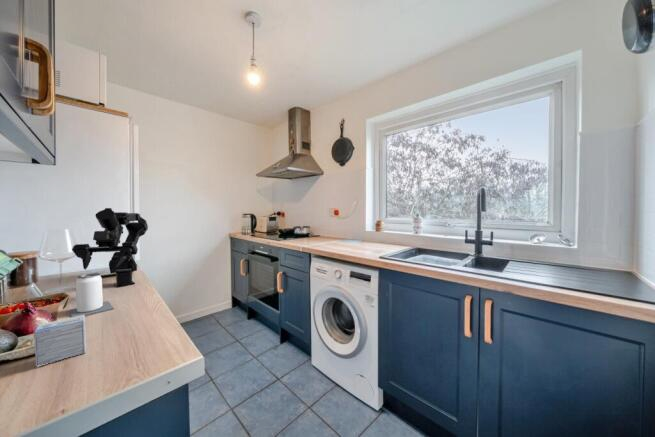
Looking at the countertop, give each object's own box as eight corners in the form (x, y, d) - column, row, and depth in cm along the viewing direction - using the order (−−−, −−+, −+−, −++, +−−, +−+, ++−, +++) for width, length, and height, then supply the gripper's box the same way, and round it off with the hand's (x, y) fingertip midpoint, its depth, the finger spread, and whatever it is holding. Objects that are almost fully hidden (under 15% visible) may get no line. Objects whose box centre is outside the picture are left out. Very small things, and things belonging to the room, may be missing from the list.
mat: (69, 310, 82) (69, 309, 82) (108, 302, 90) (108, 301, 90) (72, 319, 76) (72, 318, 76) (113, 309, 84) (113, 308, 83)
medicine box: (86, 346, 61) (85, 313, 61) (85, 353, 58) (84, 319, 58) (39, 359, 56) (37, 324, 55) (35, 369, 52) (33, 331, 52)
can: (106, 307, 84) (105, 274, 84) (82, 314, 78) (81, 279, 78) (97, 304, 87) (96, 272, 86) (72, 311, 81) (71, 276, 80)
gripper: (73, 223, 89) (56, 258, 80) (134, 222, 97) (125, 253, 88) (85, 241, 97) (70, 274, 87) (140, 239, 105) (133, 269, 95)
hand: (100, 267), depth 89 cm, fingers open, 9 cm apart
